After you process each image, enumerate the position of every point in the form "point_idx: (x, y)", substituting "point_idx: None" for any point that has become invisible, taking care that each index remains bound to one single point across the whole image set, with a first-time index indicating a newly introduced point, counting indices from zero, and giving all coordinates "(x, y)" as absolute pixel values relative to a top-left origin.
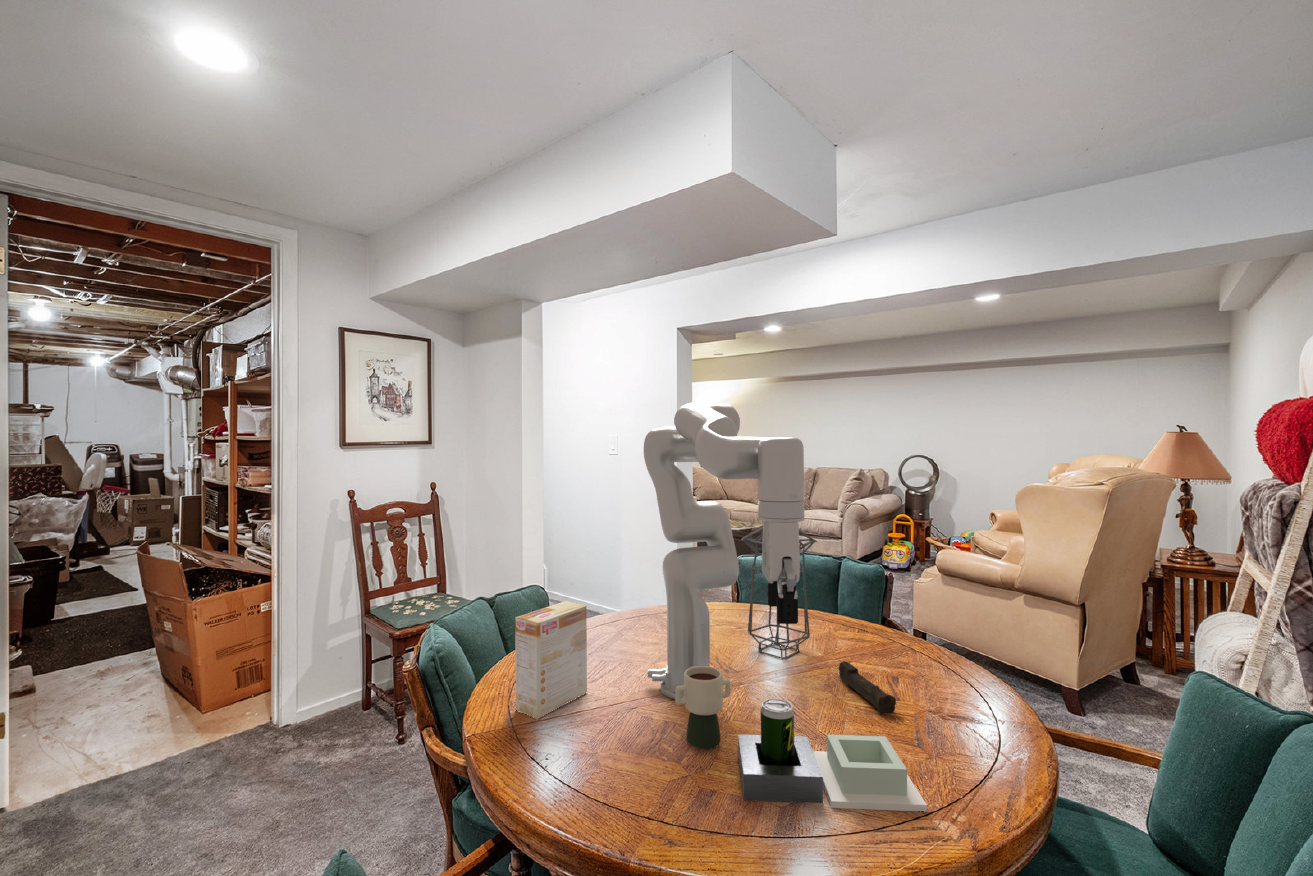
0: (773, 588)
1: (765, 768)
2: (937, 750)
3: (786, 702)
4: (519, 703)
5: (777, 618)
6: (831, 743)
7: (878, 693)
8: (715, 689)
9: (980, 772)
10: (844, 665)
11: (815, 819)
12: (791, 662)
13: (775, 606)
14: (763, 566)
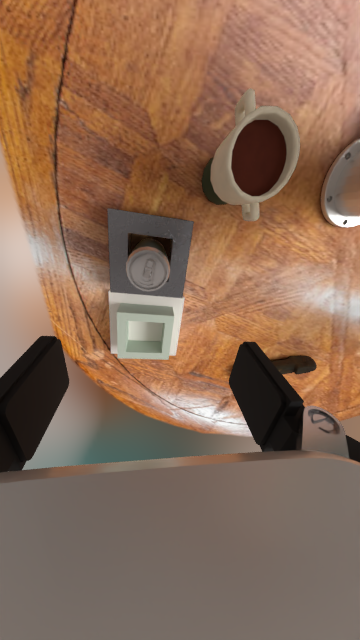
0: (265, 399)
1: (120, 238)
2: (185, 380)
3: (158, 286)
4: None
5: (35, 343)
6: (158, 315)
7: None
8: (223, 183)
9: (158, 392)
10: (307, 367)
11: (92, 271)
12: (356, 325)
13: (237, 357)
14: (290, 578)
